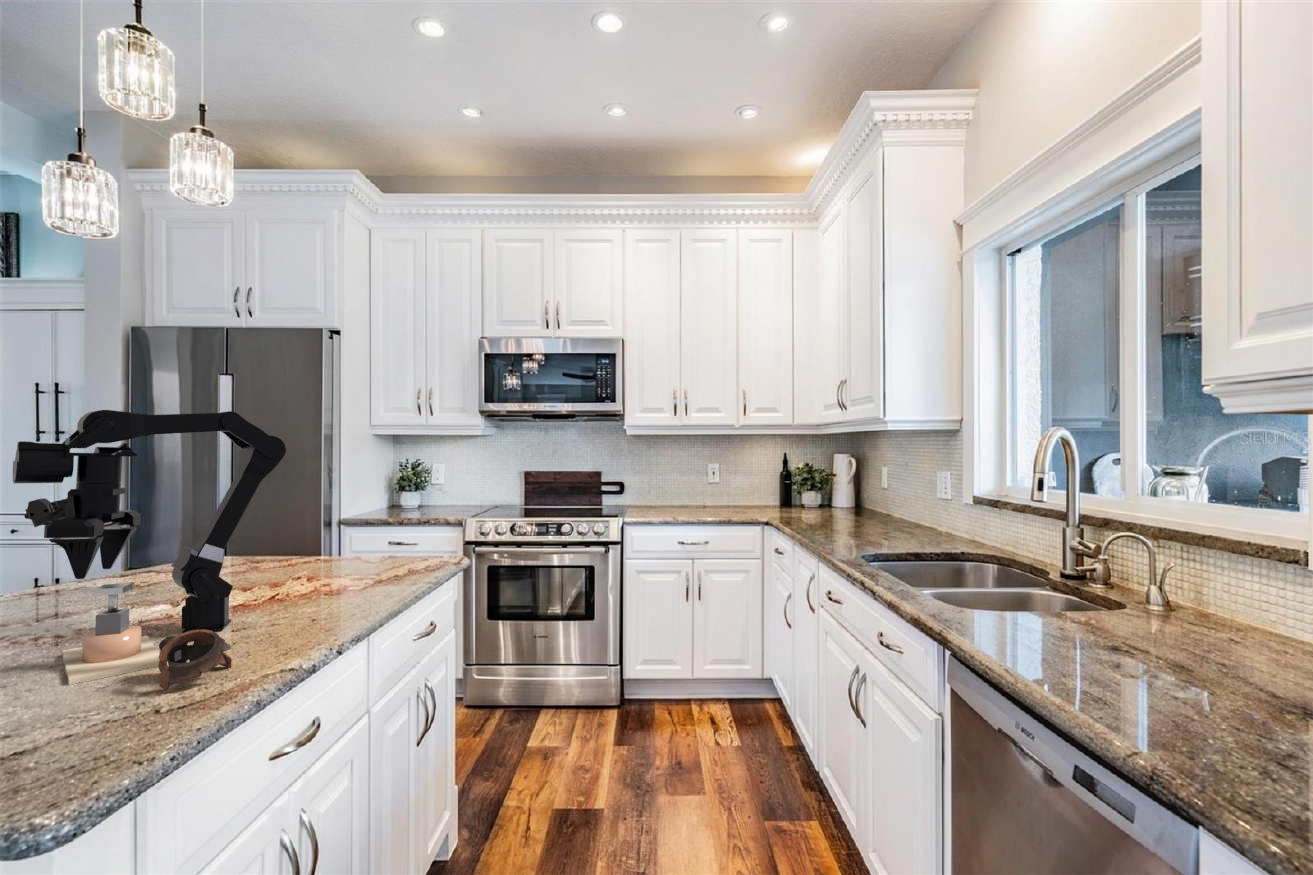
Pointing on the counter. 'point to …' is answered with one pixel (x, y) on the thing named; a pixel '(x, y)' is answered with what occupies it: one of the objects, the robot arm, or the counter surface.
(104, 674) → the birch board
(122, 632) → the pump jar
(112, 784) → the counter surface
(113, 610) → the pump head
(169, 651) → the brown ring stand
